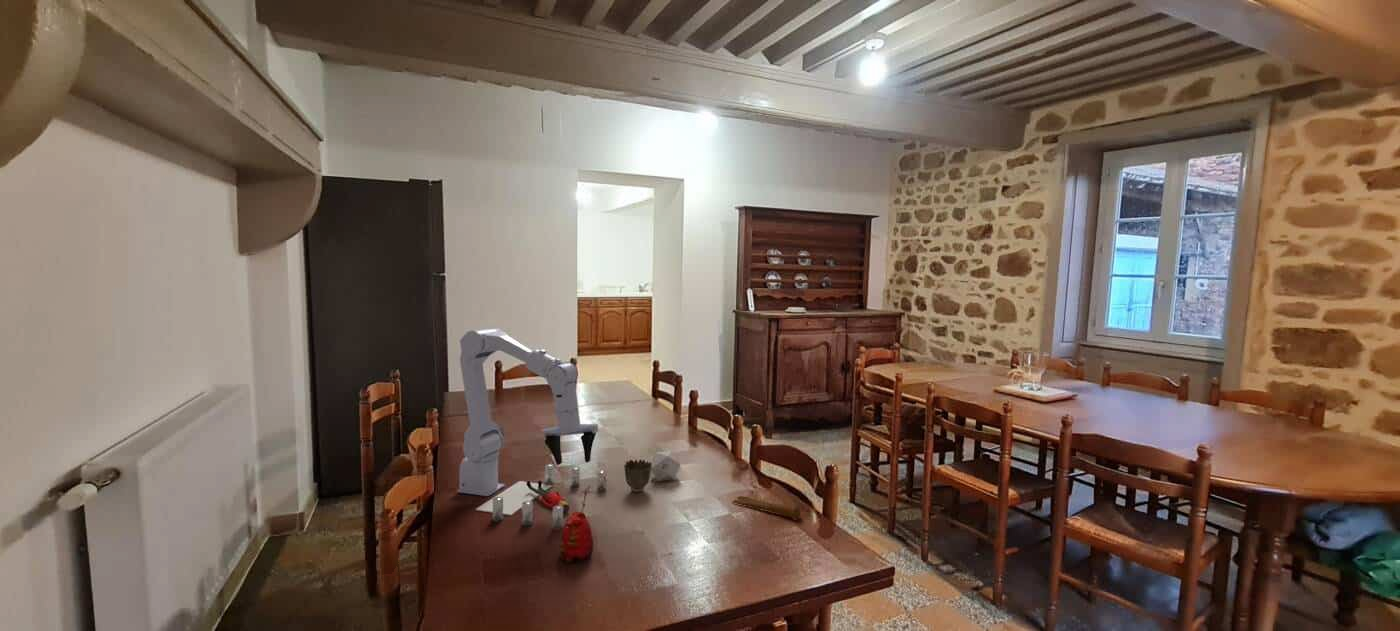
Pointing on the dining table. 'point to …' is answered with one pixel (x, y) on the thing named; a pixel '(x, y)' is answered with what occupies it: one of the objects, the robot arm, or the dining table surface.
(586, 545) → the red clay folk toy
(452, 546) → the dining table surface
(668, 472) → the die
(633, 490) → the cup
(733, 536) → the dining table surface
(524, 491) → the mat
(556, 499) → the person figure
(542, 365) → the robot arm
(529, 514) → the spacer field
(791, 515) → the primitive tool
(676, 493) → the dining table surface
